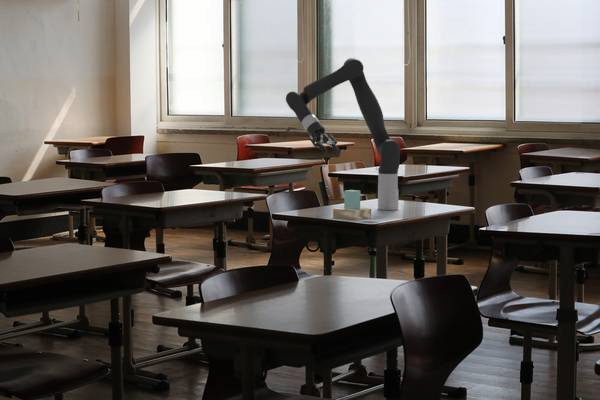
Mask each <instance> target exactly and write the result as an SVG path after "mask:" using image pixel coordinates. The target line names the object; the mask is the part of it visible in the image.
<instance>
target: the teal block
mask: <svg viewBox="0 0 600 400" xmlns="http://www.w3.org/2000/svg"><path fill="white" fill-rule="evenodd" d="M343 194H344V197H343V199H344V200H343V202H344V205H343V206H344V209H352V210H354V209H360V208H361V190H357V189H356V190H355V189H349V190H348V189H347V190H344V193H343Z"/></svg>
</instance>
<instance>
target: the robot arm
mask: <svg viewBox="0 0 600 400" xmlns="http://www.w3.org/2000/svg"><path fill="white" fill-rule="evenodd" d="M348 81H349V83H350V85H351V88H352V89H353V93H354V96H355V100H356V101H357V104H358V108H359V110H360V113H361V115H362V117H363V119H364V122H365V123H366V126H367V128H368V130H369V132H370V134H371V137H372V140H373V143H374V146H375V148H376V149H375V150H376V153H377V154H378V156H380V164H379V167H378V170H377V171H378V177H377V181H378V182H377V184H378V185H377V210H380V211H381V210H382V211H383V210H384V211H394V210H399V191H400V190H399V185H398V184H399V183H398V181H399V178H398V177H399V169H400V161H401V160H400V159H401V158H400V157H401V156H400V155H401V148H400V145H399V143H398V142H397V141H395V140H393V139H391V138H390V136H389V134H388V132H387V129H386V127H385V122H384V114H383V110H382V108H381V105H380V103H379V101H378V99H377V97H376V95H375V93H374V92H373V90H372V89H371V87H370V85H369V83H368V80H367V78H366V76H365V72H364V65H363V62H362V61H361V60H359V59H357V58H355V57H350V58H348V59H346V60H345V61H344V62H343V65H342V66H341V67H339V68H338V69H337V70H335V71H333V72H331V73H329V74H328V75H325V76H323V77H320V78H319V79H317V80H314V81H313V82H311V83H308V84H307V85H306V86H304V87H303V91H302V92H300V93H298V92H297V91H293V90H292V91H288V93H287V94H286V97H285V103H286V104H287V106H288V107H289V109H291V111H292V112H293V113H294V114H295V116H296V118H297V119H298V121H299V122H300V123H301V125H302V127H303V128H304V130H305V131H306V133H307V134H308V135H309V140H310V142H311V143H312V145H313V146H314V148H318V149H320V152H322V153H323V154H324V155H325V154H326V153H327V152H328V149H327V147H325V145H326V146H329V147H330V148H331V150H333V152H334V153H335V154H338V153H339V152H340V149H339V148H338V146H337V144H338V140H336V138H335V137H334V136H333V135H332V134H331V133H328V134H327V133H326V129H325V127H324V126H323V124H322V123H321V122H320V121H319V119H318V118H317V116H315V114H314V113H313V112H312V110H311V109H310V108H309V107H308V106H307V105H308V104H309V103H311V101H312V100H314V99H316V98H318V97H320V96H321V95H323V94H325V93H327V92H328V91H330V90H332V89H333V88H335V87H337V86H339V85H341V84H343V83H345V82H348ZM324 144H325V145H324Z"/></svg>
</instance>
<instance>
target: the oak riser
mask: <svg viewBox="0 0 600 400" xmlns="http://www.w3.org/2000/svg"><path fill="white" fill-rule="evenodd" d="M332 218H333V219H341V220H349V221H356V220H357V221H358V220H363V219H364V220H366V219H371V218H372V208H369V207H368V208H367V207H360V209H354V210H352V209H344V207H335V208H332Z"/></svg>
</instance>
